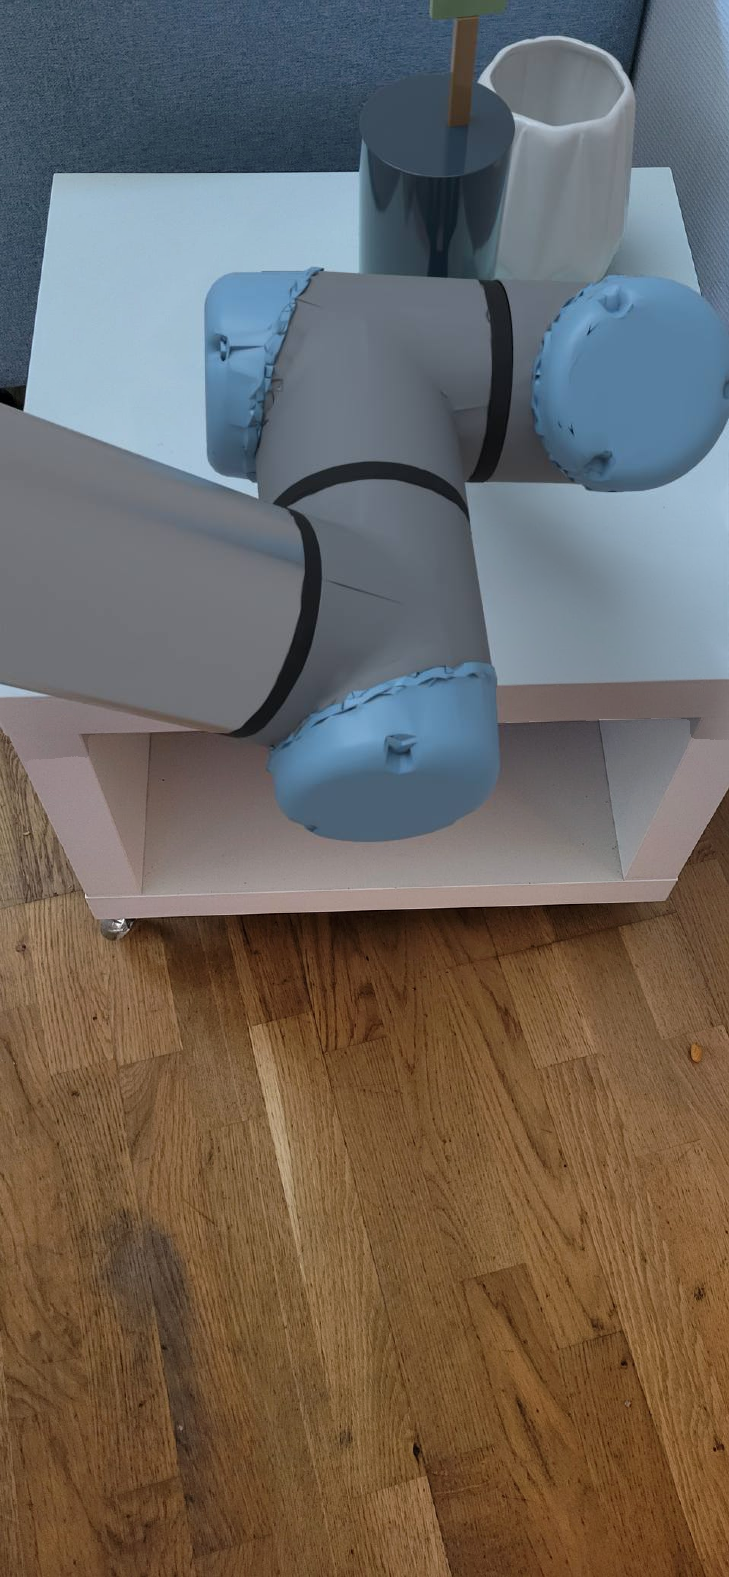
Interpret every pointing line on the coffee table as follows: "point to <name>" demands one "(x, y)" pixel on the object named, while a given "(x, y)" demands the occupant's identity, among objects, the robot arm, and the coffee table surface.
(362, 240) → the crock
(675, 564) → the coffee table surface
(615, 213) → the vase
